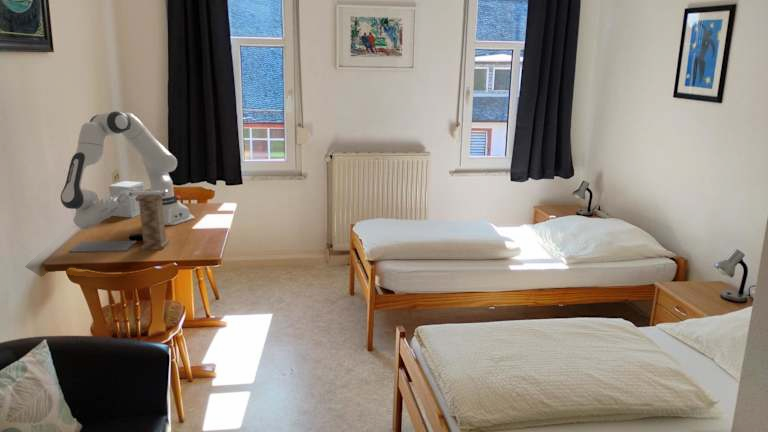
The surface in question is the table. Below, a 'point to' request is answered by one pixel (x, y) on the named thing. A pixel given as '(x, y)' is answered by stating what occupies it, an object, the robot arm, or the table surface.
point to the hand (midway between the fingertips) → (131, 192)
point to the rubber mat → (103, 246)
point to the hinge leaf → (146, 193)
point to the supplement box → (131, 205)
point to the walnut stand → (152, 222)
